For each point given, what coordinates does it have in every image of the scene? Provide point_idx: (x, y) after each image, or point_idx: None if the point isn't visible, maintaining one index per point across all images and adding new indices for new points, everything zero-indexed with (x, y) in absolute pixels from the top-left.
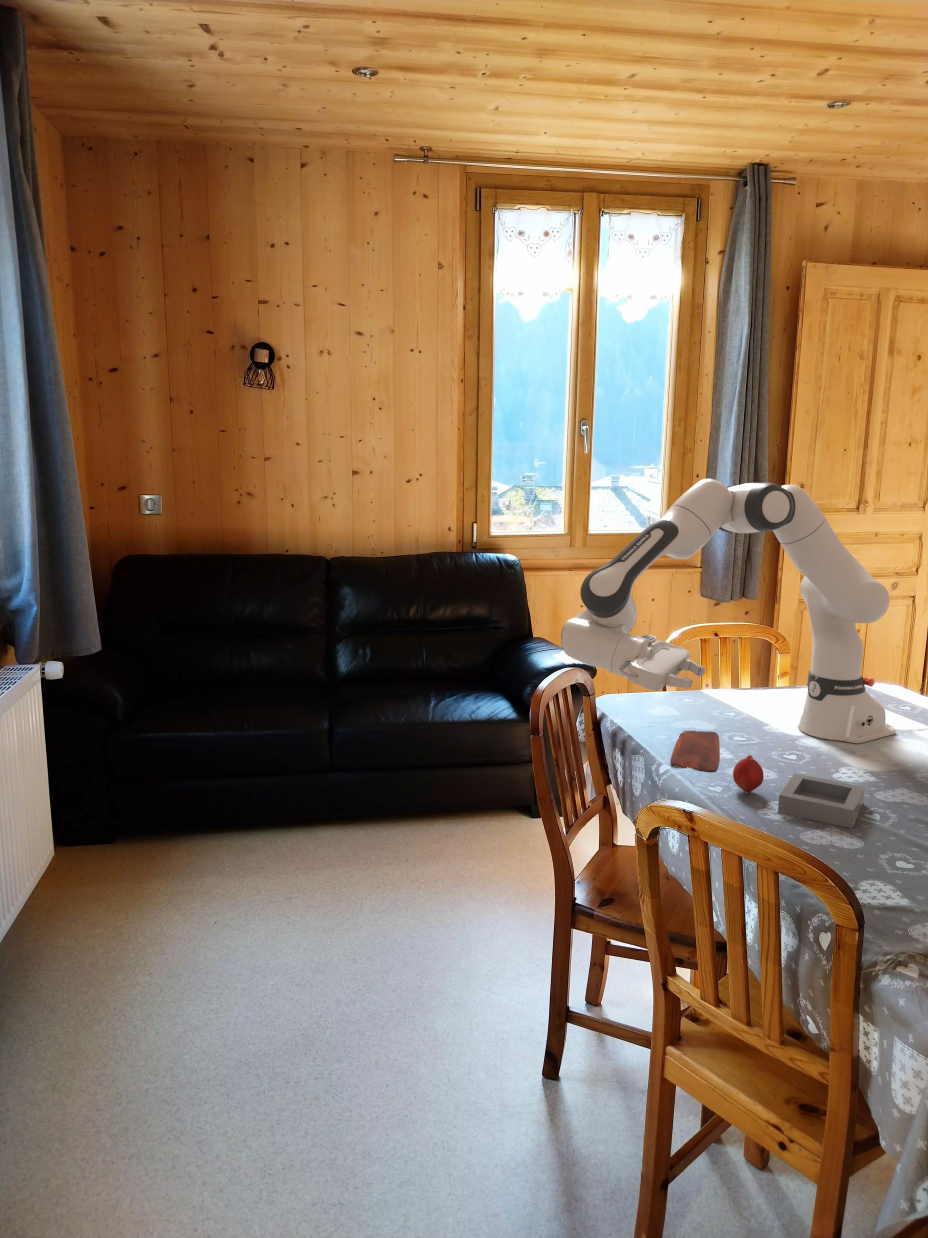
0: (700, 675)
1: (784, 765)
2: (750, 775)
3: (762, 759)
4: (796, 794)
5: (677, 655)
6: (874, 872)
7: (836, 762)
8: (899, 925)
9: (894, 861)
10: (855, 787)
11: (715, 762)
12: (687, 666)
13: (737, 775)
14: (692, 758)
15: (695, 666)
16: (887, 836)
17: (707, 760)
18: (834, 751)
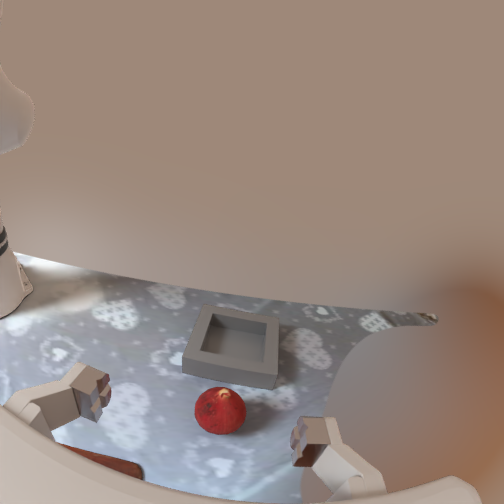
0: (108, 399)
1: None
2: (244, 404)
3: None
4: (264, 359)
5: (12, 453)
6: (349, 325)
7: (79, 317)
8: (401, 317)
9: (321, 314)
10: (209, 310)
11: (103, 458)
12: (48, 429)
13: (240, 423)
14: None
15: (68, 396)
16: (274, 313)
17: None
18: (47, 311)
